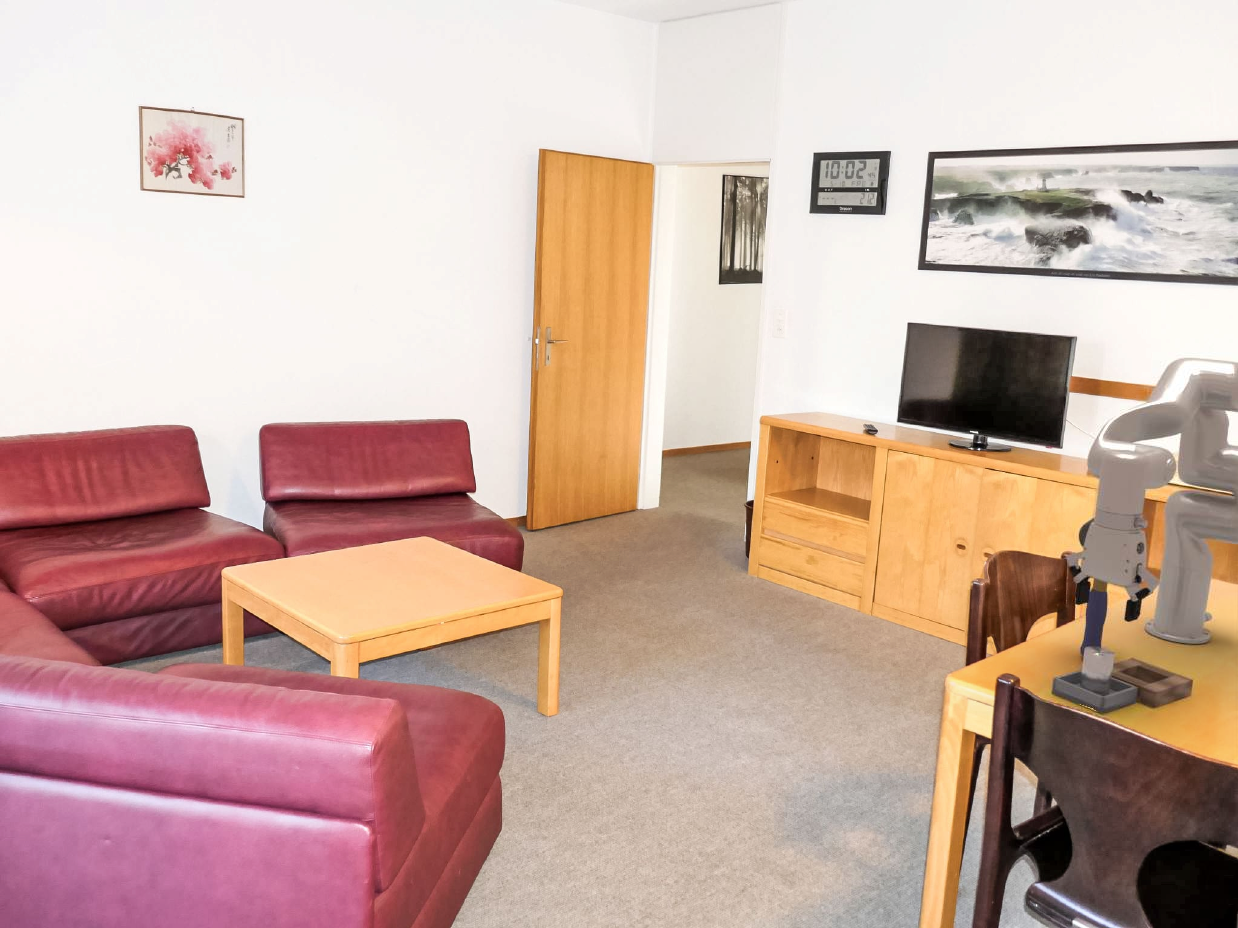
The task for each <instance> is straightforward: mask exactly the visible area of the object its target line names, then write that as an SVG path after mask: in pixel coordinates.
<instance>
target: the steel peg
mask: <svg viewBox="0 0 1238 928" xmlns="http://www.w3.org/2000/svg"><path fill="white" fill-rule="evenodd" d="M1115 656H1116V653H1115V651H1113V650H1111V649H1108V648H1106V647H1102V646H1101V647H1096V646H1089V647H1086V648H1085V650H1084V658H1083V657H1082V659H1083V660H1082V665H1081V666H1082V667H1081V670H1082V673H1081V680H1080V687H1081V688H1083V689H1086V690H1088V691H1091V692H1093V693H1096V694H1098V695H1101V696H1106V695H1109V692H1110V685H1111V678H1112V671H1113V664H1114V662H1115Z"/></svg>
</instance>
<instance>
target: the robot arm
mask: <svg viewBox="0 0 1238 928" xmlns="http://www.w3.org/2000/svg"><path fill="white" fill-rule="evenodd" d="M1226 411H1227V412H1231V413H1233V412H1234V413H1238V362H1236V361H1229V360H1223V359H1222V360H1220V359H1210V358H1209V359H1208V358H1200V357H1182V358H1177V359H1175V360H1173V361H1172V362H1169V364H1168V365H1167V366H1166V368H1165V370H1164V371H1163V373H1162V374H1161V376H1160V377H1159V380H1158V381H1157V383H1156V385H1155V387H1154V388H1153V390H1152V392H1151V393H1150V395H1149V396H1148V398H1147V400H1146V402H1145V403H1142V404H1139V405H1136V406H1134V407H1133V408H1132V407H1131V408H1130V409H1128V410H1125V411H1124V412H1121V413H1120V414H1117V415H1115V416H1114V417H1112V418H1111V419H1109V420H1108V421H1107V422H1106V423H1105V424H1104V425H1103V426H1102V428H1101V429H1100V431H1099V433H1098V434H1097V436H1096V437H1095V440H1094V441H1093V443H1092V445H1091V447H1090V449H1089V452H1088V456H1087V459H1086V461H1087V462H1086V464H1087V469H1088V472H1089V473H1090V475H1092V477H1094V478H1096V479H1099V480H1098V486H1097V493H1096V494H1097V497H1096V503H1095V512H1094V517H1095V518H1094V517H1093V518H1094V522H1092V523H1091V525H1090V527H1089V530H1088V532H1087V535H1086V539H1085V543H1084V547H1082V548H1083V549H1082V551H1078V552H1073V553H1071V554H1067V555H1066V557H1065V558H1066V561H1067V564H1068V566H1069V569H1068V570H1069V572H1070V574H1071V575H1072V577H1073V582H1074V583H1075V584H1076V586H1075V594H1074V598H1075V599H1074V601H1075V602H1074V603H1075V605H1077V606H1081V605H1084V604H1085V605H1086V604H1087V603H1088V602H1089V595H1090V591H1091V585H1092V583H1091V581H1089V580H1090V579H1093V580H1094V579H1097V580H1100V581H1104V582H1107V583H1108V584H1110V585H1114V586H1118V587H1121V588H1124V590H1125V591H1126V593H1127V595H1128V596H1129V599H1126V604H1125V611H1124V619H1123V620H1124V621H1125V622H1128V623H1130V622H1134V621H1136V620H1137V621H1138V618H1139V617H1140V616H1141V609H1142V604H1143V603H1142V602H1143V600H1144V599H1146V598H1147V597H1148V596H1150V595H1151V594H1153V593H1154V591H1155V590H1156V589H1157V597H1156V600H1155V601H1156V602H1155V609H1154V617H1153V619H1149V620H1147V621H1146V622H1145V624H1144V629H1145V630H1146V632H1148V633H1149V634H1150V635H1152V636H1154V637H1156V638H1159V639H1163V640H1167V641H1170V642H1173V643H1174V642H1175V643H1180V644H1189V645H1190V644H1192V645H1199V644H1206V643H1208V642H1210V640H1211V633H1210V632H1209V631H1208V630H1207V629H1205V628H1204V625H1205V623H1206V622H1210V621H1212V618H1213V615H1212V614H1211V613H1210V612H1208V611H1207V608H1208V607H1207V606H1208V600H1209V599H1208V598H1209V593H1210V588H1211V587H1210V586H1211V582H1212V575H1213V568H1214V556H1213V552H1212V550H1211V547H1210V546H1209V544H1208V542H1207V541H1206V540H1212V541H1217V542H1223V543H1228V544H1234V545H1238V445H1235V444H1230V443H1229V442H1228V434H1229V426H1230V419H1229V416H1228V414H1227V412H1226ZM1179 434H1180V439H1179V440H1180V441H1179V446H1178V447H1179V449H1178V457H1177V458H1178V459H1177V461H1176V458H1175V456H1174V454H1173V453H1172V452H1171V451H1170V450H1168V449H1166V448H1164V447H1161V446H1155V445H1149V444H1143V443H1138V442H1143V441H1148V440H1149V441H1150V440H1158V439H1163V438H1166V437H1167V438H1168V437H1173V436H1176V435H1179ZM1176 471H1177V472H1176ZM1176 473H1177V475H1178V478H1179V480H1180V481H1181V482H1183V483H1185V484H1187V485H1189V486H1190V485H1191V486H1193V487H1198V488H1204V489H1210V490H1211V489H1212V490H1215V491H1216V490H1217V491H1223V492H1229V493H1232V495H1233V496H1231V495H1225V494H1224V495H1223V494H1218V493H1214V492H1213V493H1212V492H1208V491H1202V490H1194V489H1181V490H1177V491H1174V492H1173V493H1171V494H1170V495H1169V496H1168V498H1167V499H1166V502H1165V507H1164V524H1165V525H1164V527H1165V530H1164V531H1165V533H1164V534H1165V535H1164V538H1165V539H1164V547H1163V555H1162V560H1161V561H1162V562H1161V570H1160V575H1159V578H1157V577H1156V576H1155V575H1154V574H1153V573H1152V572H1150V570H1148V569H1147V557H1148V556H1147V539H1146V531H1144V530H1142V528H1143V529H1145V528H1146V529H1147V527H1148V526H1149V521H1148V520H1146V519H1144V514H1143V512H1144V505H1145V498H1146V490H1154V489H1160V488H1163V487H1165V486H1166V485H1168V484H1169V483H1170V482H1171V481H1172V480H1173V479H1174V477H1175V474H1176ZM1079 560H1080V565H1079ZM1144 582H1145V586H1144V587H1142V584H1144ZM1157 587H1158V588H1157Z"/></svg>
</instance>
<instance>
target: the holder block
mask: <svg viewBox="0 0 1238 928" xmlns="http://www.w3.org/2000/svg"><path fill="white" fill-rule="evenodd" d="M1112 678H1115V679H1117V680H1120V681H1123V682H1125V683H1128V684H1130V685H1133V686H1136V687H1138V691H1137V698H1136V702H1137V703H1140V704H1143V705H1146V706H1148V707H1150V708H1152V709H1155V708H1158V707H1161V706H1164V705H1166V704H1170V703H1173V702H1175V701H1178V700H1180V699H1184V698H1187V697H1190V696H1191V695H1192V690H1193V681H1194V679H1191V678H1190V677H1187V676H1184V675H1181V674H1178V673H1176V672H1172V671H1170V670H1168V669H1164V668H1161V667H1158V666H1156V665H1153V664H1151V663H1147V662H1144V661H1142V660H1139V659H1136V658H1134V657H1131V658H1127V659H1124V660H1121V661H1117V662H1115V663H1114V664H1113V671H1112Z"/></svg>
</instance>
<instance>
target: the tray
mask: <svg viewBox="0 0 1238 928" xmlns="http://www.w3.org/2000/svg"><path fill="white" fill-rule="evenodd" d="M1081 673H1082V669H1079V670H1076V671H1072V672H1068V673H1066V674H1062V675H1059V676H1055V677H1053V679H1052V686H1051V694H1052V695H1054V696H1057V697H1060V698H1062V699H1065V700H1067V701H1069V702H1072V703H1073V704H1077V705H1078V704H1081V705H1084V706H1087V707H1090V708H1093V709H1094V710H1096V711H1098V712H1099V713H1098V712H1097V713H1098V714H1100V713H1102V714H1101V715H1104V714H1107V713H1111V712H1113V711H1116V710H1119V709H1121V708H1125V707H1128V706H1131V705H1134V704H1136V702H1137V701H1136V698H1137V691H1138V687H1136V686H1133V685H1130V684H1128V683H1125V682H1123V681H1120V680H1117V679H1115V678H1111V685H1110V692H1109V695H1106V696H1101V695H1098V694H1096V693H1093V692H1091V691H1088V690H1086V689H1083V688H1081V687H1080V680H1081ZM1081 705H1080V706H1081Z"/></svg>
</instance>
